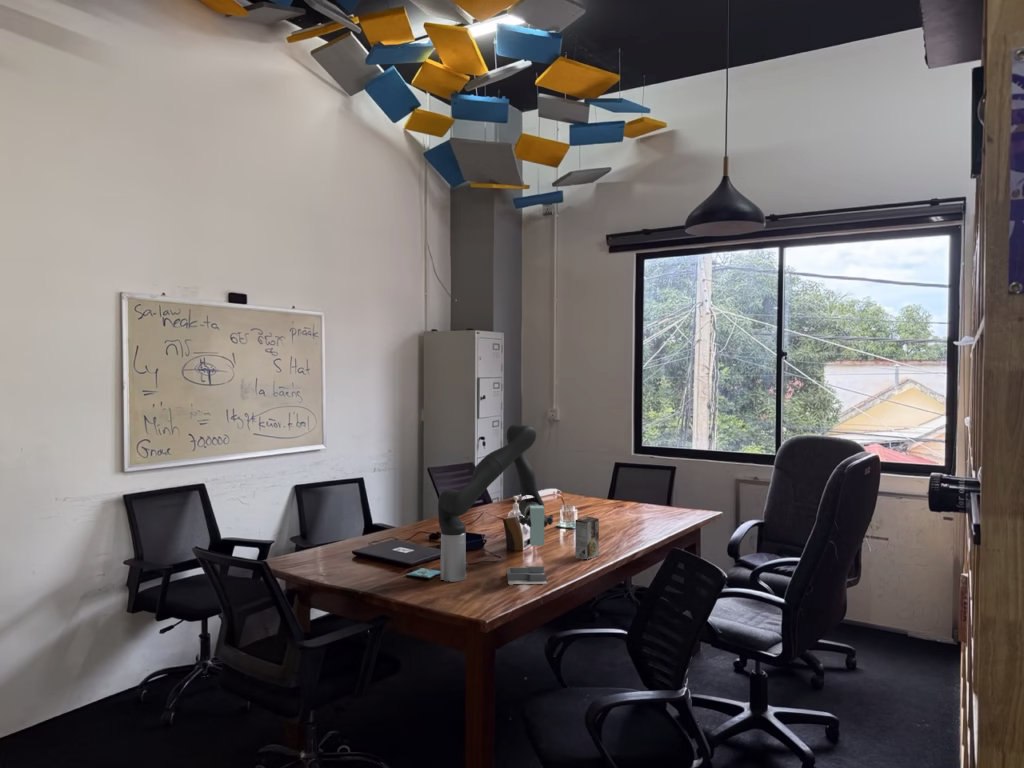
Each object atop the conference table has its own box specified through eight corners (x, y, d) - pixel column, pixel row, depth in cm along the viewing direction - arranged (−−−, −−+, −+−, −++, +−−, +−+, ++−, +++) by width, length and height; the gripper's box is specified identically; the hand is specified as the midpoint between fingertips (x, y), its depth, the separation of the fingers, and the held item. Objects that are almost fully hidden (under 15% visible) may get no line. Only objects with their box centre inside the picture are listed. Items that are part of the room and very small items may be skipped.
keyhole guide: (508, 584, 241) (508, 576, 241) (507, 572, 256) (507, 565, 256) (546, 584, 241) (546, 576, 241) (543, 572, 256) (543, 564, 256)
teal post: (530, 545, 246) (530, 508, 246) (530, 542, 251) (529, 505, 251) (544, 545, 246) (544, 508, 246) (543, 542, 251) (543, 505, 251)
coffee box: (586, 553, 284) (586, 516, 284) (599, 556, 280) (599, 518, 280) (574, 557, 277) (574, 519, 277) (587, 560, 273) (587, 521, 273)
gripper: (516, 505, 262) (518, 514, 245) (552, 505, 263) (556, 514, 246) (516, 524, 263) (518, 534, 246) (552, 523, 263) (556, 534, 246)
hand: (537, 524), depth 246 cm, fingers closed on teal post, 5 cm apart
